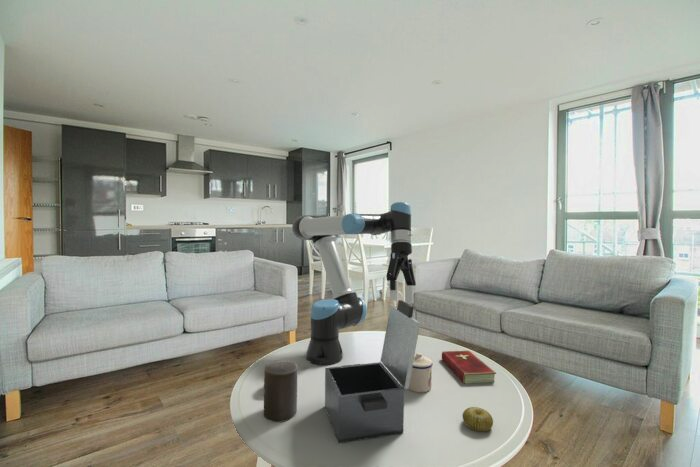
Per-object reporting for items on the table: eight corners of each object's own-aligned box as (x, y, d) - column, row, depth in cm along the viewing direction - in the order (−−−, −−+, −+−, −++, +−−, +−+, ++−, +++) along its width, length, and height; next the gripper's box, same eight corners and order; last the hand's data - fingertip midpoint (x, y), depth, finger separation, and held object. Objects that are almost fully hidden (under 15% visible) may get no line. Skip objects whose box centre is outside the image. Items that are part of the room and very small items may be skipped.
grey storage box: (323, 401, 107) (323, 363, 107) (376, 394, 112) (377, 358, 112) (341, 451, 84) (341, 403, 84) (408, 439, 89) (408, 394, 88)
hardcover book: (463, 385, 120) (464, 373, 120) (441, 360, 141) (441, 350, 141) (495, 383, 122) (496, 372, 121) (469, 359, 142) (469, 349, 142)
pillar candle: (268, 425, 94) (269, 372, 94) (260, 408, 103) (261, 359, 102) (301, 417, 99) (302, 366, 98) (291, 401, 107) (292, 354, 107)
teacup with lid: (435, 393, 113) (435, 358, 113) (407, 393, 113) (408, 358, 113) (426, 376, 125) (427, 345, 125) (401, 376, 125) (402, 345, 125)
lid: (392, 296, 109) (395, 296, 109) (380, 361, 109) (383, 361, 109) (418, 311, 91) (422, 311, 92) (404, 388, 91) (408, 388, 91)
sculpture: (468, 420, 91) (458, 404, 99) (468, 434, 92) (458, 417, 99) (498, 420, 92) (485, 404, 100) (498, 434, 92) (485, 417, 100)
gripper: (396, 234, 113) (397, 298, 108) (423, 249, 134) (424, 304, 128) (376, 236, 117) (376, 299, 112) (405, 251, 138) (406, 304, 132)
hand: (402, 302), depth 120 cm, fingers open, 13 cm apart
